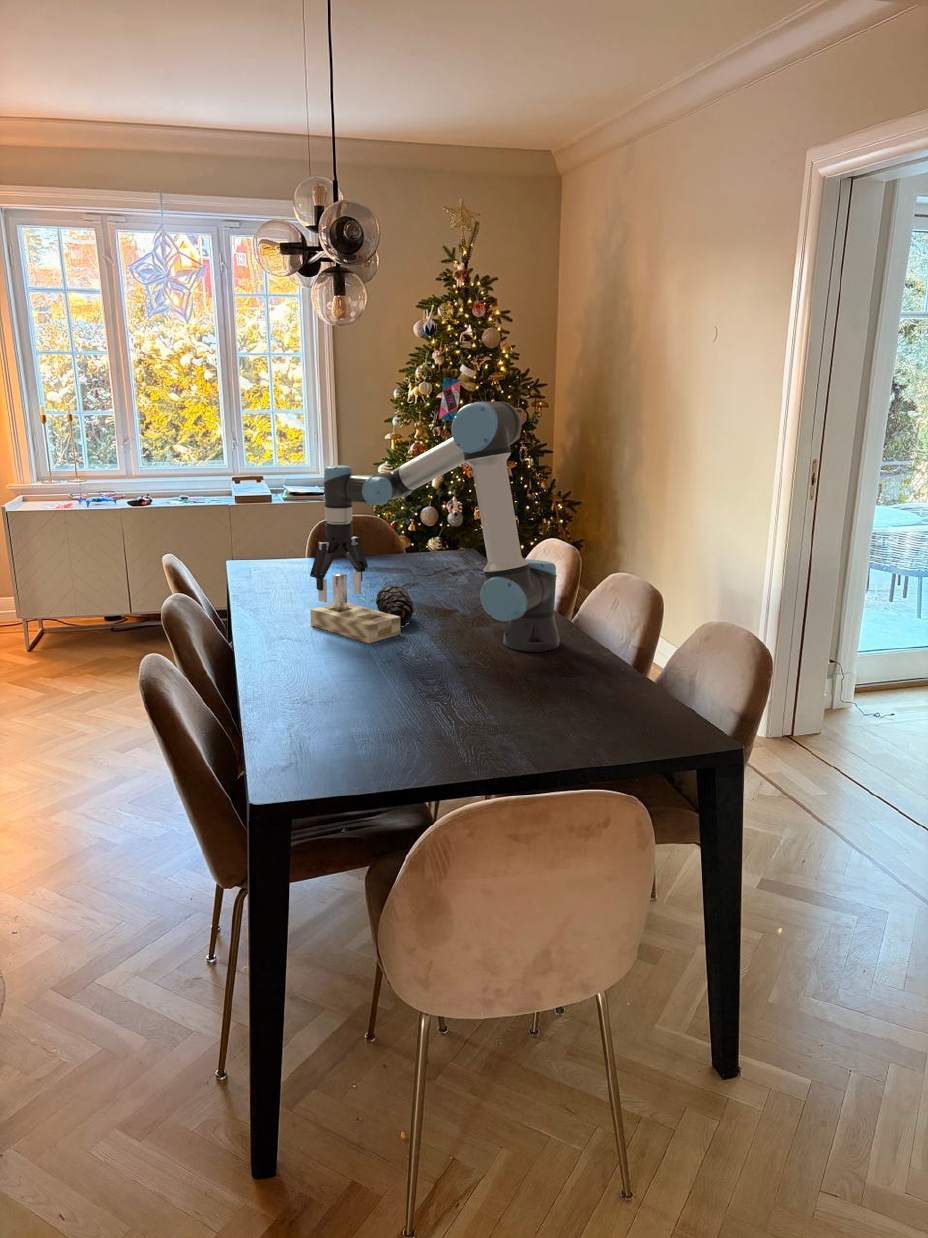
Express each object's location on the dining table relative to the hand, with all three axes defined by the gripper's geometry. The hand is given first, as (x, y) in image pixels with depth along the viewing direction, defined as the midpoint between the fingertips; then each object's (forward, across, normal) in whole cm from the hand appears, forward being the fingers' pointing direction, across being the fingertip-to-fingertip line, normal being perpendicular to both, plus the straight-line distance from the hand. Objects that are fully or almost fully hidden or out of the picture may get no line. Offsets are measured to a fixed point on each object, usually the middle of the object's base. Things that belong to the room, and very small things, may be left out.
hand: (340, 597), depth 253 cm
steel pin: (+7, 0, 0) cm, 7 cm away
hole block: (+8, 0, +6) cm, 10 cm away
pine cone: (+9, -15, +8) cm, 19 cm away
